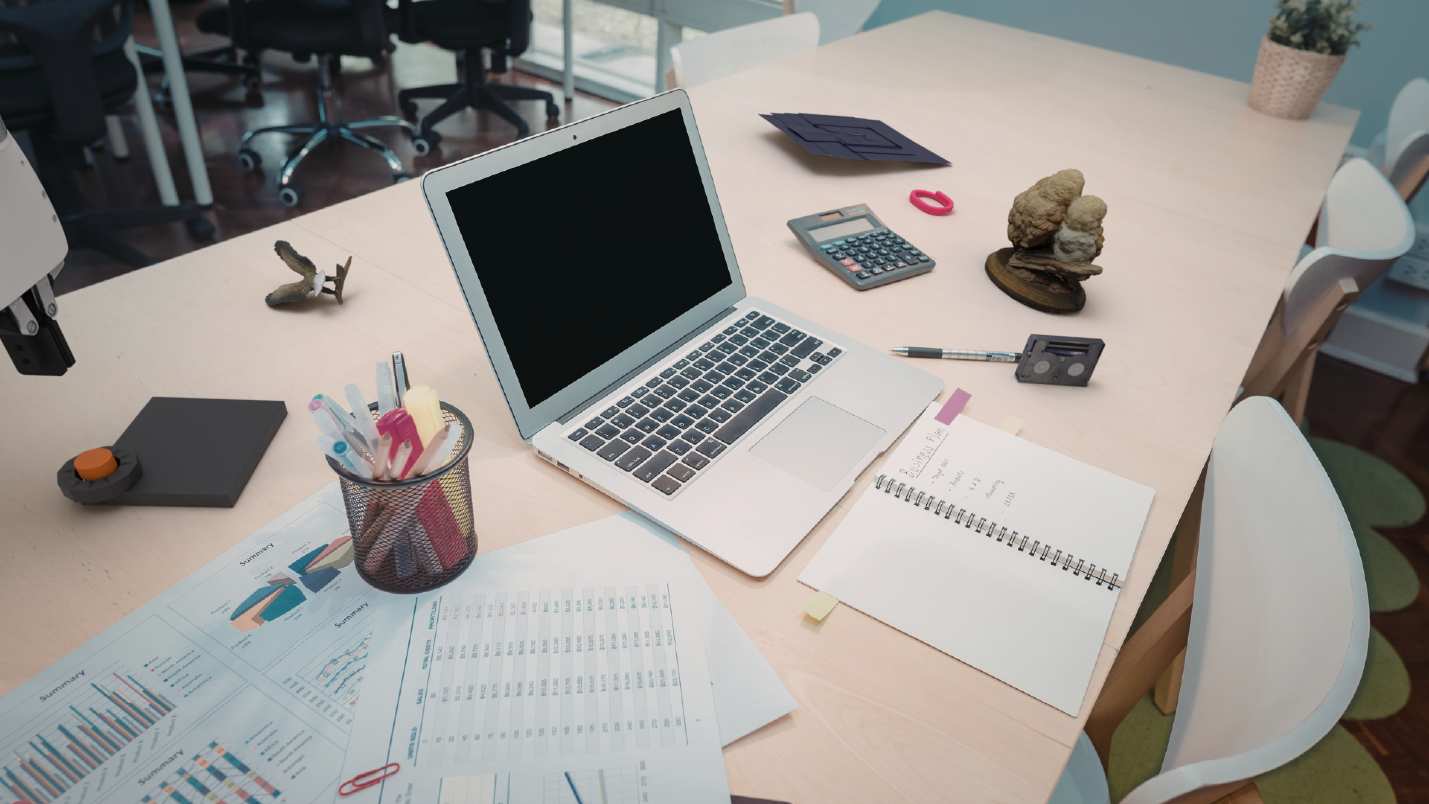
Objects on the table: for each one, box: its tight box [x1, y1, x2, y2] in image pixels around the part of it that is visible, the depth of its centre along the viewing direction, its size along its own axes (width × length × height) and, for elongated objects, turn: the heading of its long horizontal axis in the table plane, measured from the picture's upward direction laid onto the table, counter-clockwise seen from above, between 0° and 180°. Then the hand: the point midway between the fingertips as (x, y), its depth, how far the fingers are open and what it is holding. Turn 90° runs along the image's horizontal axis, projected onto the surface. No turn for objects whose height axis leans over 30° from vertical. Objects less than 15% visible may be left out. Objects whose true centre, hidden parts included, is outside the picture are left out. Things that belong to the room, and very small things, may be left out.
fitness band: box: [909, 189, 955, 216], centre depth 133 cm, size 8×6×2 cm
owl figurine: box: [984, 168, 1108, 314], centre depth 109 cm, size 18×12×17 cm, turn 19°
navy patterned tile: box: [757, 112, 954, 165], centre depth 151 cm, size 24×30×4 cm
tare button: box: [74, 447, 117, 481], centre depth 67 cm, size 3×3×1 cm
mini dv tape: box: [1014, 333, 1106, 388], centre depth 93 cm, size 8×2×6 cm, turn 90°
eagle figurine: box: [264, 239, 353, 306], centre depth 94 cm, size 8×7×9 cm
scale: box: [56, 396, 289, 509], centre depth 72 cm, size 13×14×3 cm
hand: (48, 369), depth 61 cm, fingers closed
